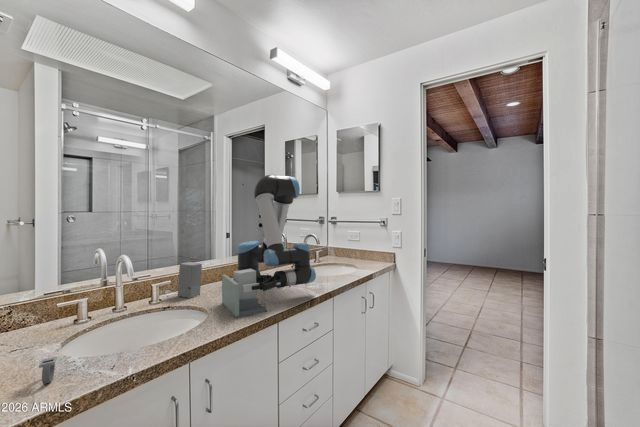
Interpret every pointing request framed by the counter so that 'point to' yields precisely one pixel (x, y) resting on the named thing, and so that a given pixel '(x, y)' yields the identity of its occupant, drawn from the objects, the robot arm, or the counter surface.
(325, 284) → the counter surface
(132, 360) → the counter surface
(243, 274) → the skincare box
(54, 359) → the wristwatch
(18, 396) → the counter surface
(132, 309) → the counter surface
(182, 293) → the skincare box
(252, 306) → the holder
